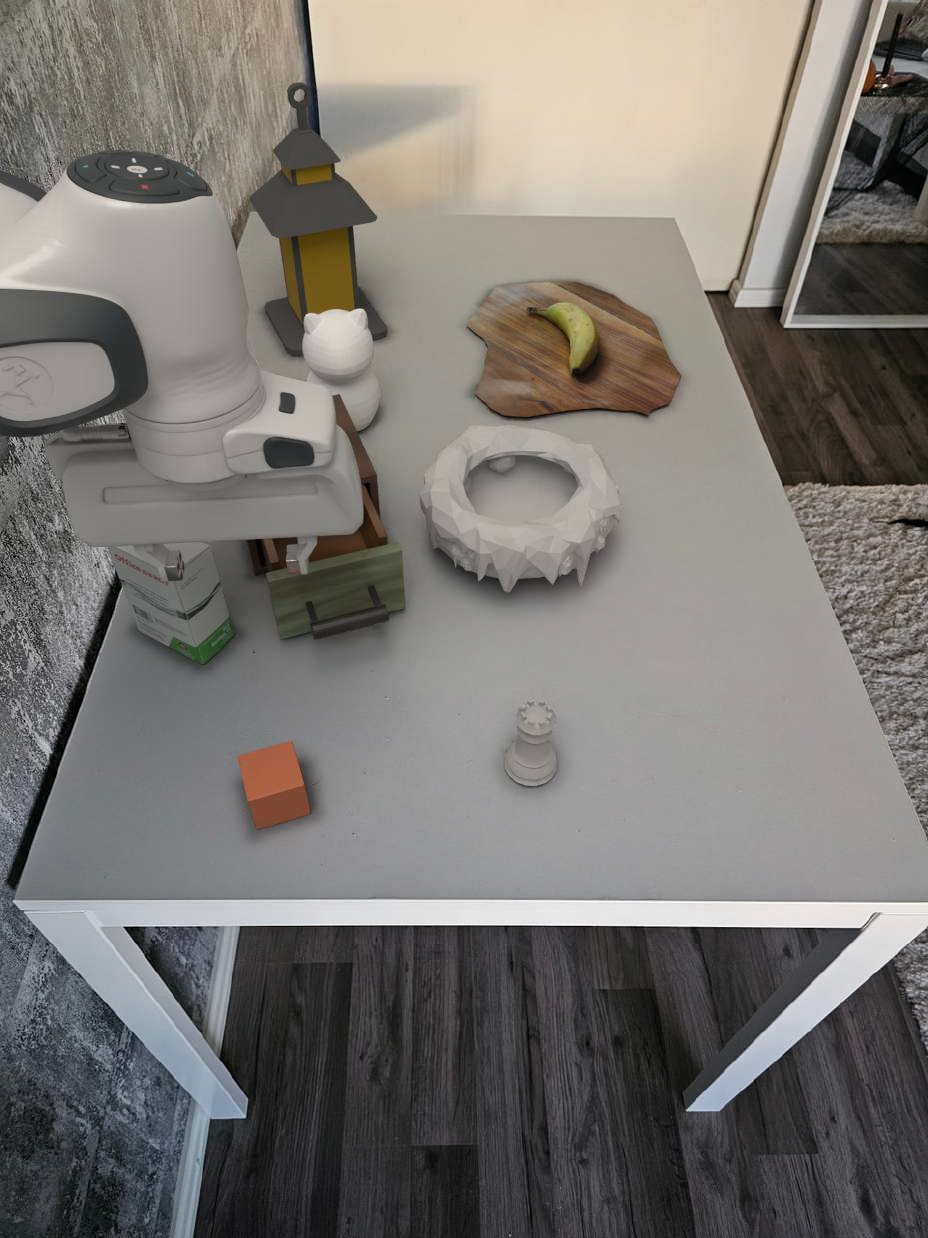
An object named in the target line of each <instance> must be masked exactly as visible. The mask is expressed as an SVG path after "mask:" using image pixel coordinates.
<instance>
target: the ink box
mask: <svg viewBox="0 0 928 1238" xmlns="http://www.w3.org/2000/svg"><path fill="white" fill-rule="evenodd" d="M163 545H164V546H165V547H166V548H167V549H168V550H169V551H170V550H180V552H181V556H182V558H181V560H183V562H184V573H183V574H182V575H183V580H182V581H167V582H162V580H161V577H160V575H159V572H158V569H157V567H154V566H153V565H151V564H150V563H149V562H147V561H146V560H145V559H143V558H142V557H141V556H139V555H138V554H137V553H136V552H135V549H134V546H133V545H129V546H110V547H106V548H107V551H108V553H109V556H110V558H111V561H112V564H113V566H114V569H115V572H116V574H117V576H118V579H119V582H120V584H121V587H122V589H123V590H122V591H123V592H124V595H125V598H126V600H127V603H128V606H129V608H130V611H131V613H132V616H133V619H134V621H135V624H136V626H137V629H138V631H139V632H140V633H142V634H144V635H145V636H148V637H150V638H151V639H153V640H155V641H157V642H159V643H161V644H162V645H164V646H166V647H168V648H170V649H172V650H174V651H176V652H177V653H179V654H181V655H183V656H185V657H186V658H189V659H190V660H192V661H194V662H196V663H198V664H200V665H206V664H207V663H208V662H209V661H210V660H211V659H212V658H213V657H214V656H215V655H216V654H218V652H219V651H220V650H222V648H224V647H225V645H227V644H228V643H229V642H230V641H231V640H232V638H234V636H235V634H236V633H235V629H234V627H233V626H234V625H233V622H232V619H231V615H230V612H229V609H228V604H227V601H226V598H225V593H224V591H223V587H222V584H221V580H220V576H219V572H218V569H217V566H216V561H215V559H214V555H213V551H212V547H211V545H210V544H207V543H206V542H189V543H169V544H163Z"/></svg>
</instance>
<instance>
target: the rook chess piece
mask: <svg viewBox="0 0 928 1238" xmlns="http://www.w3.org/2000/svg"><path fill="white" fill-rule="evenodd" d="M515 723H516V724H517V726H516V728H517V729H516V730H517V734H518V735H517V738H515V740H513V741H512V742H511V743H510V744H509V746H508V748H507V751H506V754H505V758H504V769H505V771H506V773H507V775H508V776H509V777H510V778H511V779H513V781H515V783H518V784H521V785H522V786H527V787H538V786H540V785H544V784H547V783H548V782H549V781H550V780H552V778H553V777H554V775H555V773H556V771H557V753H556V751H555V749H554V747H553V745H552V743H550V741H549V739H550V737H551V735H552V733H553V729H554V728H555V725H556V723H557V716H556V714H555V712H554V710H553V707H552V706H551V704H548V705H547V704H546V700H544V699H541V698H539V699H538V701H535V700H534V698H530V699H527V703H522V705H521V706H520V707H519V708H517V711H516V712H515Z"/></svg>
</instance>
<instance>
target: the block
mask: <svg viewBox="0 0 928 1238" xmlns="http://www.w3.org/2000/svg"><path fill="white" fill-rule="evenodd" d="M237 761H238V766H239V770H240V774H241V779H242V782H243V788H244V792H245V797H246V800H247V804H248V808H249V810H250V813H251V816H252V820H253V823H254V825H255V829H256V830H257V831H259V830H262V829H265V828H268V827H272V826H274V825H279V824H281V823H285V822H288V821H292V820H295V819H298V818H302V817H305V816H308V815H311V814H312V812H311V807H310V803H309V797H308V794H307V789H306V784H305V781H304V778H303V774H302V769H301V767H300V763H299V759H298V755H297V752H296V748H295V745H294V741H293V740H289V741H285V742H281V743H278V744H275V745H270V746H267V747H264V748H260V749H256V750H253V751H249V752H245V753H242V754H239V755H237Z"/></svg>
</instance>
